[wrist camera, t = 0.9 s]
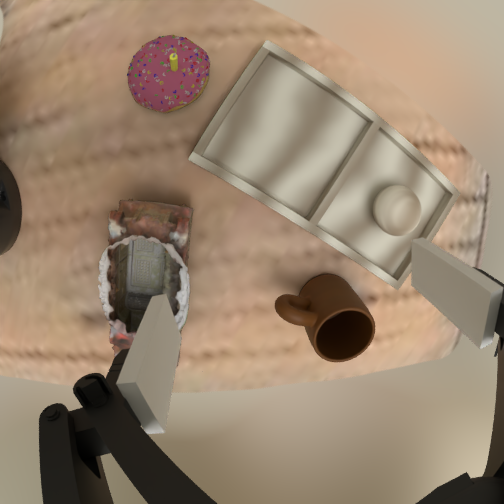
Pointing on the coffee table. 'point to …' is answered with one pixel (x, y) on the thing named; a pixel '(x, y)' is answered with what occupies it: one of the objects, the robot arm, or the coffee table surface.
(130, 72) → the cupcake
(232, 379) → the coffee table surface
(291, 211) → the divided tray
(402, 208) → the wooden egg
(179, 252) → the decorative box
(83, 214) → the coffee table surface
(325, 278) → the mug
